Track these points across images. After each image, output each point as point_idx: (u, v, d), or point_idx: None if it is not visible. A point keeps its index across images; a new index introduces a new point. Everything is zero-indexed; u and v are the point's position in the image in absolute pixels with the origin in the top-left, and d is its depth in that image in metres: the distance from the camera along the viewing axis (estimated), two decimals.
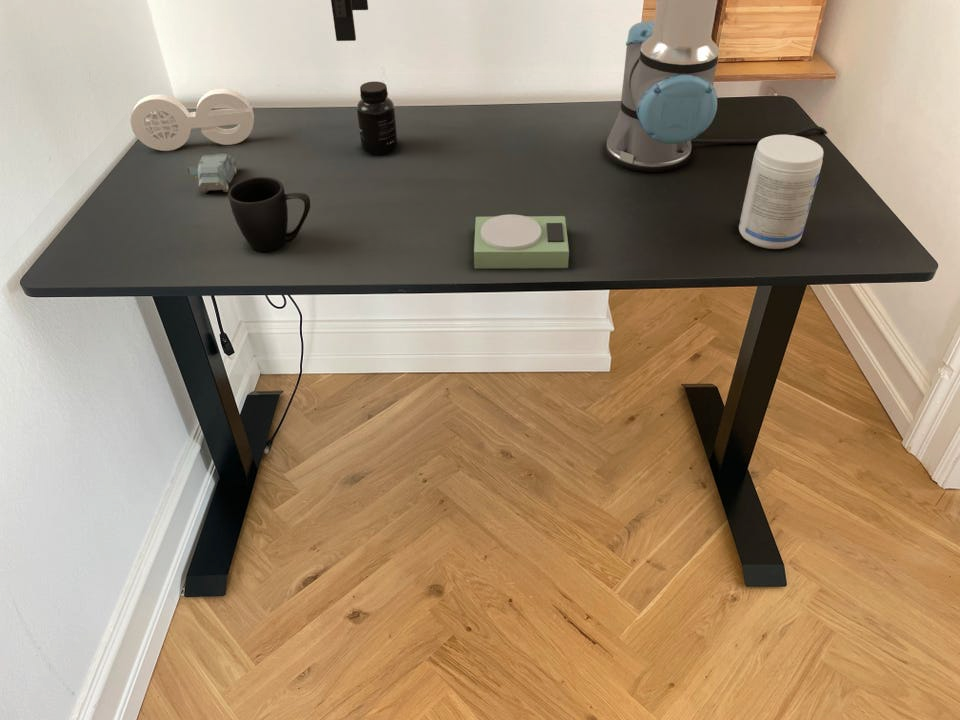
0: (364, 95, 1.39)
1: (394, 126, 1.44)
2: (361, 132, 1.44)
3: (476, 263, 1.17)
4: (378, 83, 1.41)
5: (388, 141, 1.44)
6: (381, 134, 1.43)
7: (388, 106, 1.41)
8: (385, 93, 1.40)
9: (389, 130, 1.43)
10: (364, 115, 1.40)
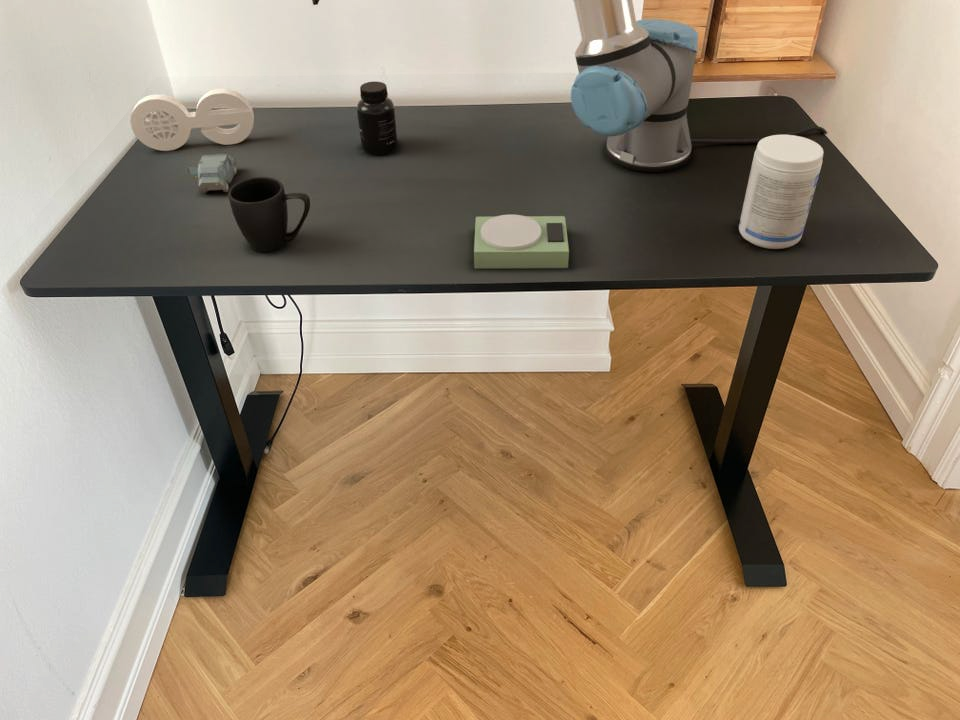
0: (364, 95, 1.39)
1: (394, 126, 1.44)
2: (361, 132, 1.44)
3: (476, 263, 1.17)
4: (378, 83, 1.41)
5: (388, 141, 1.44)
6: (381, 134, 1.43)
7: (388, 106, 1.41)
8: (385, 93, 1.40)
9: (389, 130, 1.43)
10: (364, 115, 1.40)
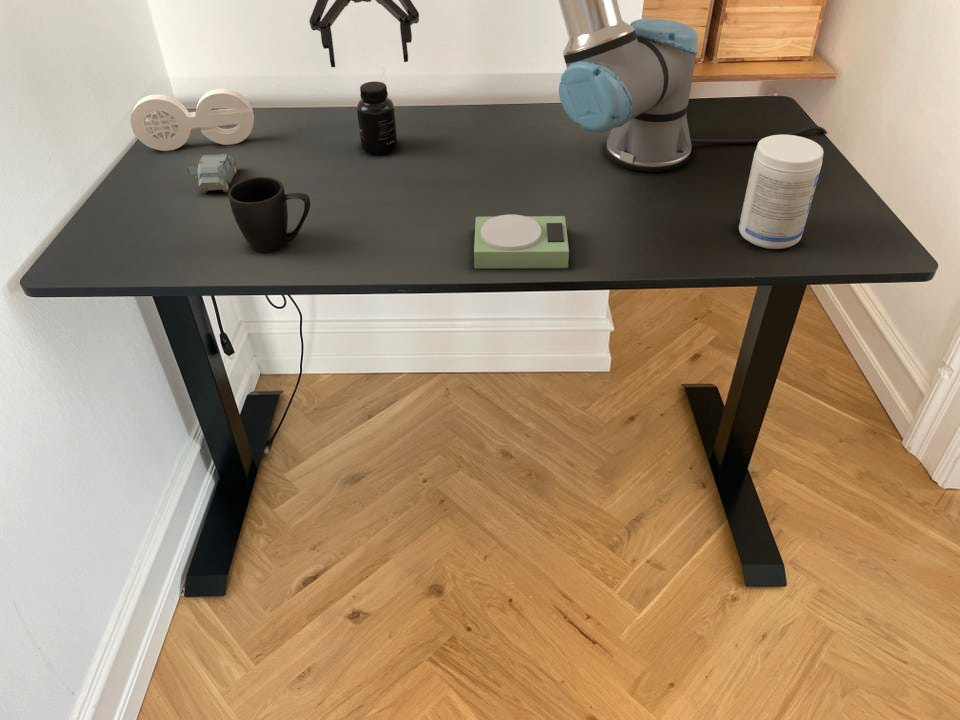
0: (364, 95, 1.39)
1: (394, 126, 1.44)
2: (361, 132, 1.44)
3: (476, 263, 1.17)
4: (378, 83, 1.41)
5: (388, 141, 1.44)
6: (381, 134, 1.43)
7: (388, 106, 1.41)
8: (385, 93, 1.40)
9: (389, 130, 1.43)
10: (364, 115, 1.40)
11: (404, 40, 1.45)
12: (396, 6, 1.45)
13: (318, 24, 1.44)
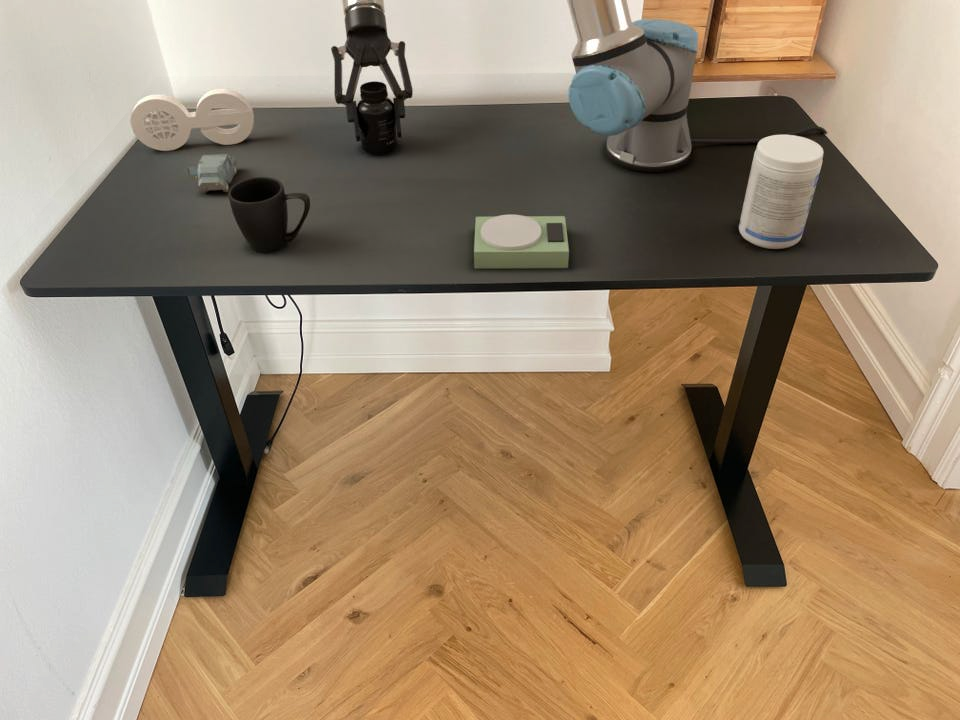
0: (364, 95, 1.39)
1: (394, 126, 1.44)
2: (361, 132, 1.44)
3: (476, 263, 1.17)
4: (378, 83, 1.41)
5: (388, 141, 1.44)
6: (381, 134, 1.43)
7: (388, 106, 1.41)
8: (385, 93, 1.40)
9: (390, 130, 1.43)
10: (364, 115, 1.40)
11: (397, 117, 1.42)
12: (394, 79, 1.42)
13: (343, 100, 1.42)
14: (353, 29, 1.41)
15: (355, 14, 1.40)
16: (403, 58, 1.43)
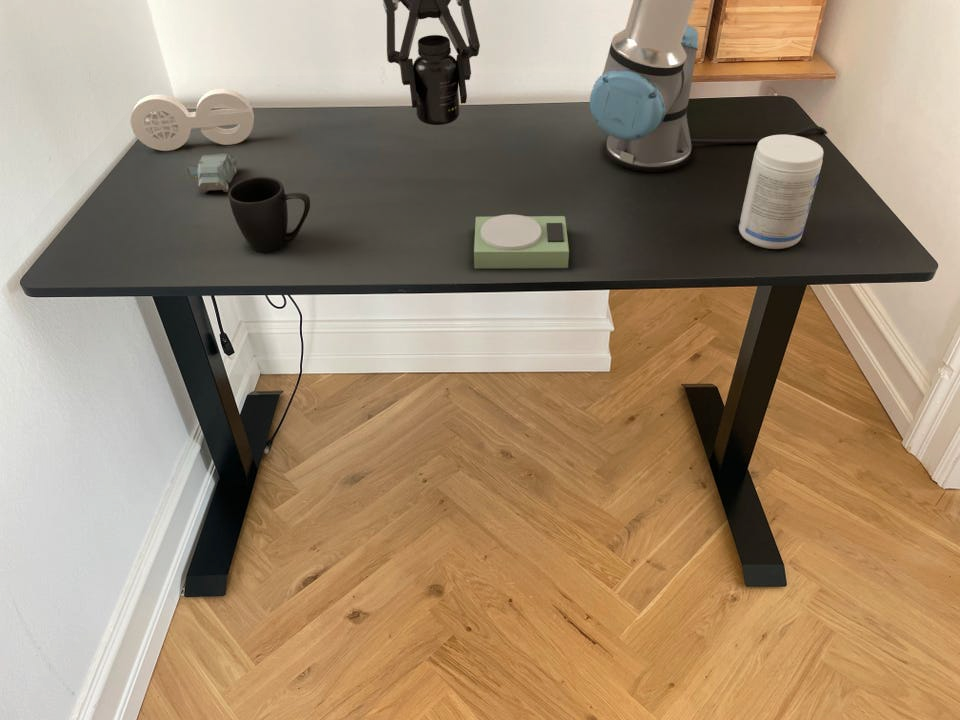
0: (423, 51, 1.15)
1: (457, 89, 1.20)
2: (418, 97, 1.20)
3: (476, 263, 1.17)
4: (439, 37, 1.17)
5: (450, 107, 1.20)
6: (442, 99, 1.19)
7: (451, 64, 1.17)
8: (448, 48, 1.16)
9: (452, 94, 1.19)
10: (422, 75, 1.17)
11: (462, 78, 1.18)
12: (458, 33, 1.19)
13: (397, 57, 1.18)
14: None
15: None
16: (468, 7, 1.19)
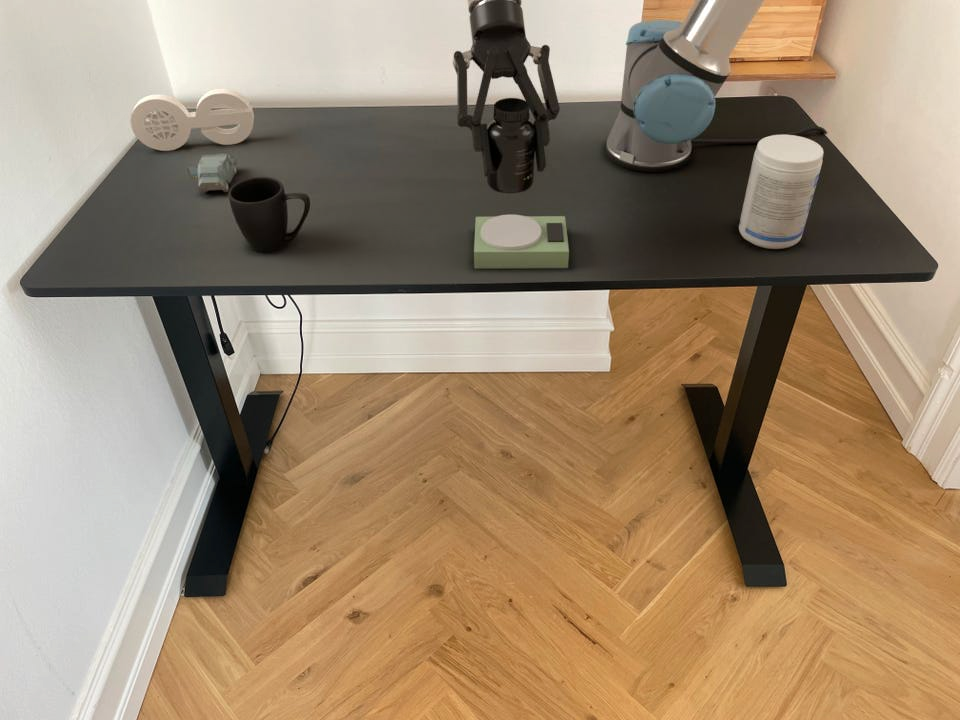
0: (500, 116, 1.05)
1: (534, 156, 1.10)
2: None
3: (476, 263, 1.17)
4: (517, 100, 1.06)
5: (525, 176, 1.10)
6: (518, 167, 1.08)
7: (530, 131, 1.06)
8: (527, 114, 1.06)
9: (529, 162, 1.09)
10: (499, 142, 1.06)
11: (541, 145, 1.08)
12: (536, 95, 1.08)
13: (470, 122, 1.07)
14: (484, 29, 1.07)
15: (488, 9, 1.06)
16: (547, 67, 1.09)
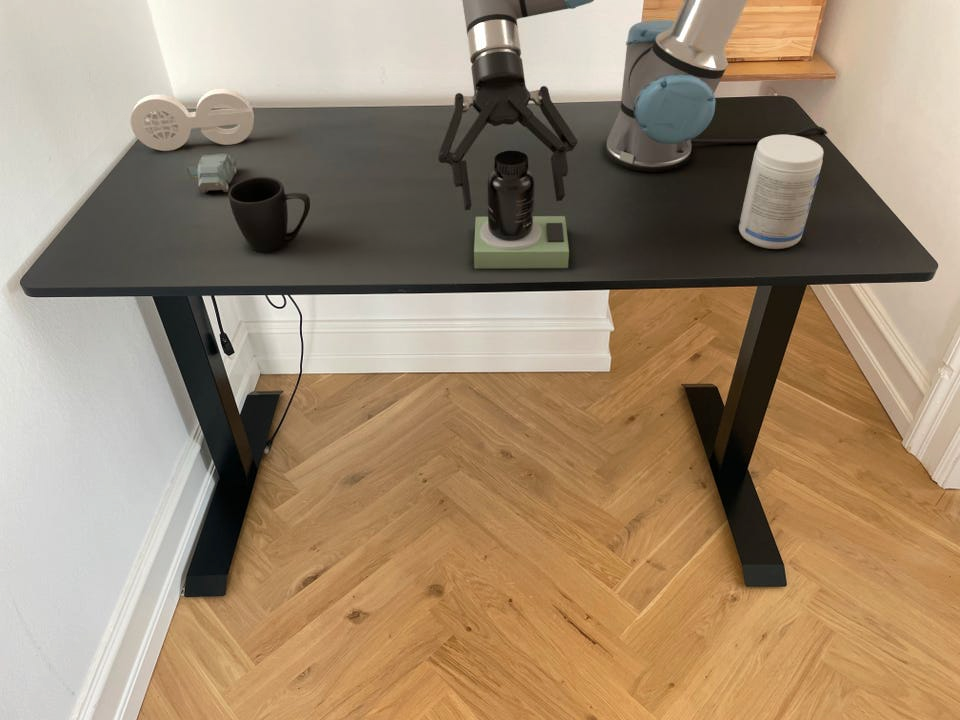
0: (501, 169, 1.10)
1: (533, 205, 1.15)
2: (491, 212, 1.14)
3: (476, 263, 1.17)
4: (516, 153, 1.11)
5: (525, 223, 1.15)
6: (518, 216, 1.13)
7: (529, 182, 1.11)
8: (526, 166, 1.11)
9: (528, 211, 1.14)
10: (499, 193, 1.11)
11: (560, 176, 1.12)
12: (549, 132, 1.13)
13: (450, 157, 1.12)
14: (486, 79, 1.11)
15: (489, 61, 1.11)
16: (552, 106, 1.13)
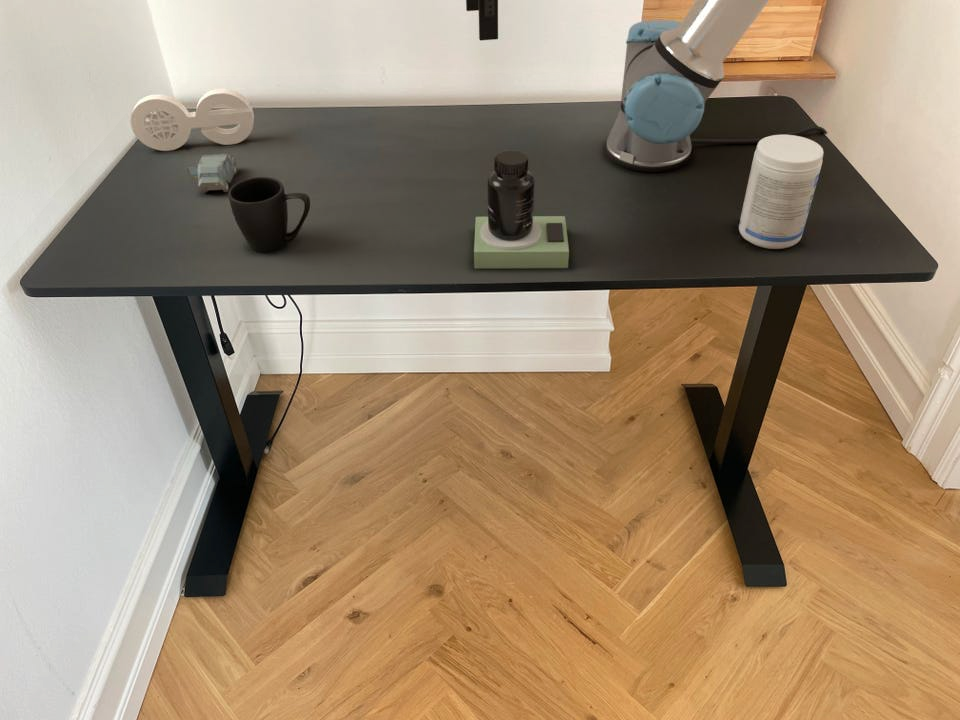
0: (501, 169, 1.10)
1: (533, 205, 1.15)
2: (491, 212, 1.14)
3: (476, 263, 1.17)
4: (516, 153, 1.11)
5: (525, 223, 1.15)
6: (518, 216, 1.13)
7: (529, 182, 1.11)
8: (526, 166, 1.11)
9: (528, 211, 1.14)
10: (499, 193, 1.11)
11: None
12: None
13: None
14: None
15: None
16: None
